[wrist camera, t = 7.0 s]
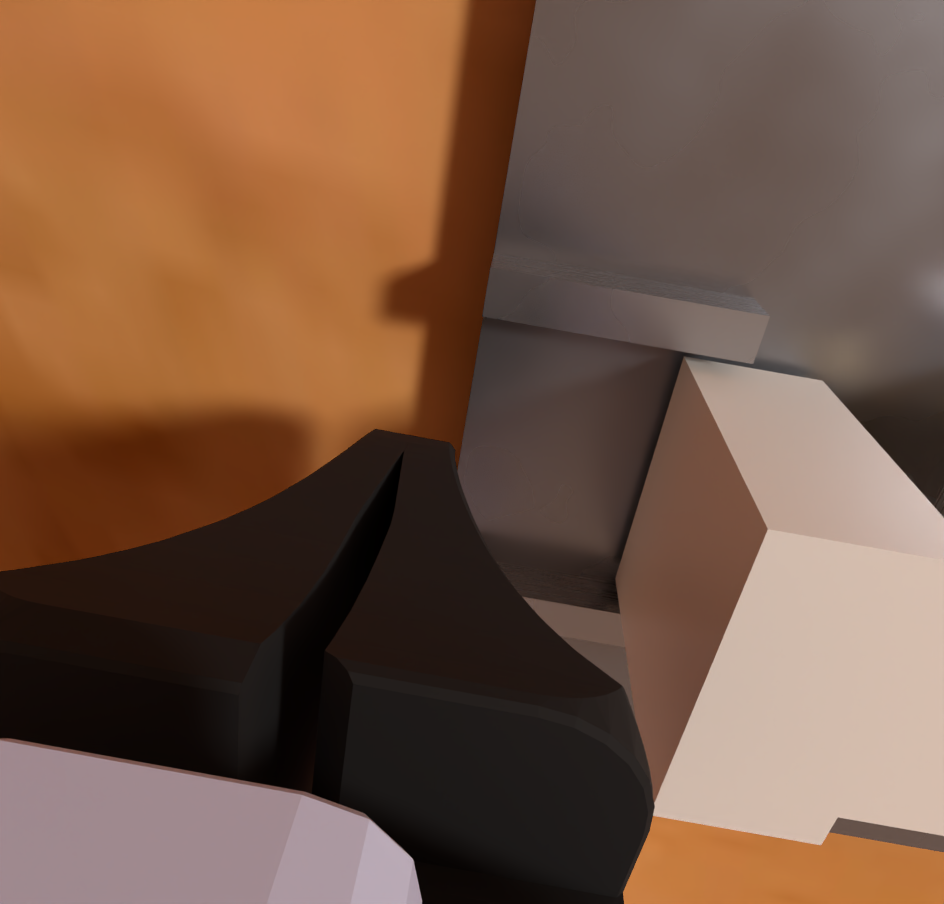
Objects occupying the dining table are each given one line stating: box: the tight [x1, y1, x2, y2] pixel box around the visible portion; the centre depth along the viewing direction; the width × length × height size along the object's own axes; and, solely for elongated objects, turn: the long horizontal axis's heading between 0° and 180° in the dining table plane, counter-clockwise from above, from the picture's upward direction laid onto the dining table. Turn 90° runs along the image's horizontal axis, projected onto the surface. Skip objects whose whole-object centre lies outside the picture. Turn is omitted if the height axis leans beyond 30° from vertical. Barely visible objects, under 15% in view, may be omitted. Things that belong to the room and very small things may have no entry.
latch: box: [615, 356, 944, 845], centre depth 11 cm, size 5×5×5 cm
